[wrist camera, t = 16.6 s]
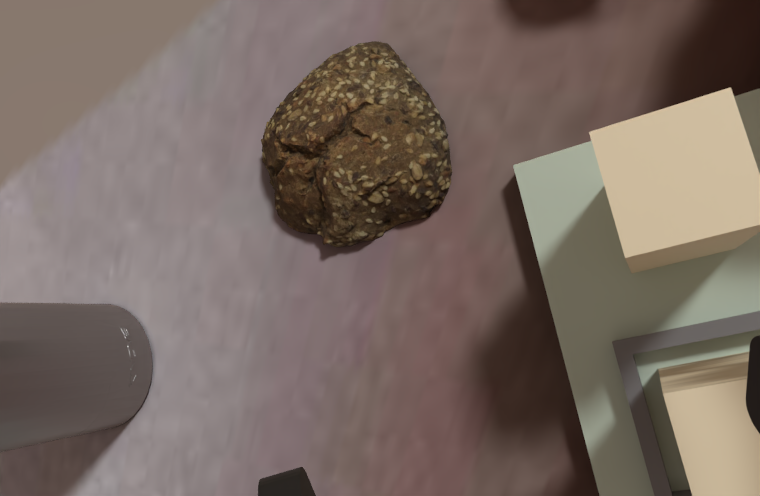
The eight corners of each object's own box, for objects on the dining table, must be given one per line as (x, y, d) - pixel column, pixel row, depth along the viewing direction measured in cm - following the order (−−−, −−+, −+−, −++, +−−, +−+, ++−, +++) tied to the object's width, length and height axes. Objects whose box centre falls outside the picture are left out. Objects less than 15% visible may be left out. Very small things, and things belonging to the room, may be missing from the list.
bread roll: (402, 26, 43) (372, -9, 38) (479, 192, 40) (457, 177, 35) (248, 122, 47) (204, 101, 42) (307, 280, 44) (267, 276, 39)
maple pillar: (687, 468, 32) (705, 540, 22) (658, 368, 33) (662, 394, 23) (799, 452, 31) (874, 522, 21) (766, 348, 32) (822, 365, 22)
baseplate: (610, 521, 35) (591, 625, 23) (517, 170, 39) (462, 110, 27) (920, 486, 30) (1089, 595, 19) (782, 89, 34) (852, -27, 22)
